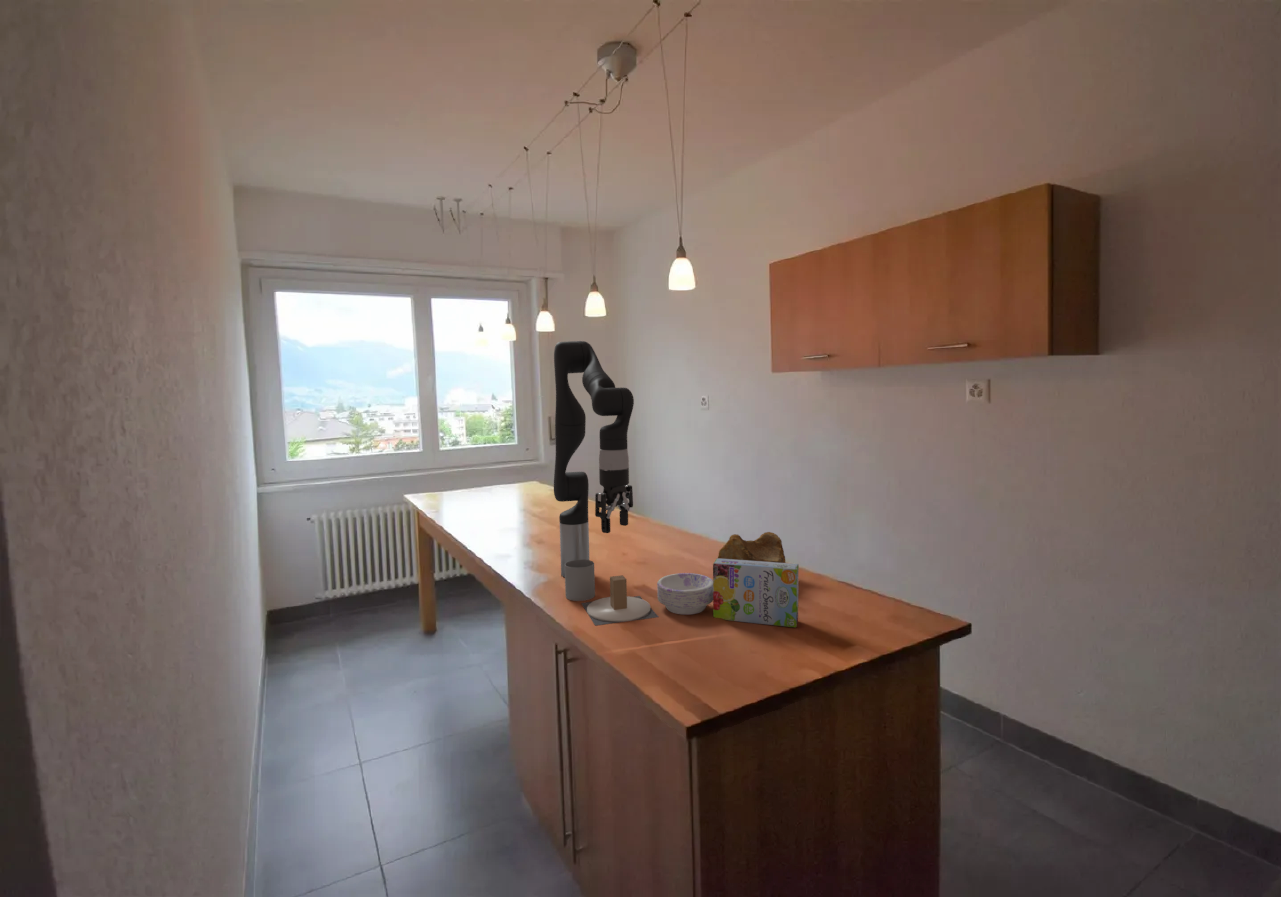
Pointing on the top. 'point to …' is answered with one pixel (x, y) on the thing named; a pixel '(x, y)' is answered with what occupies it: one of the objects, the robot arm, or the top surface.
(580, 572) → the cup
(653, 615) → the mat
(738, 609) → the snack box
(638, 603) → the lid
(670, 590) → the paper bowls
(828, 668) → the top surface
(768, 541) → the rough brown rock
